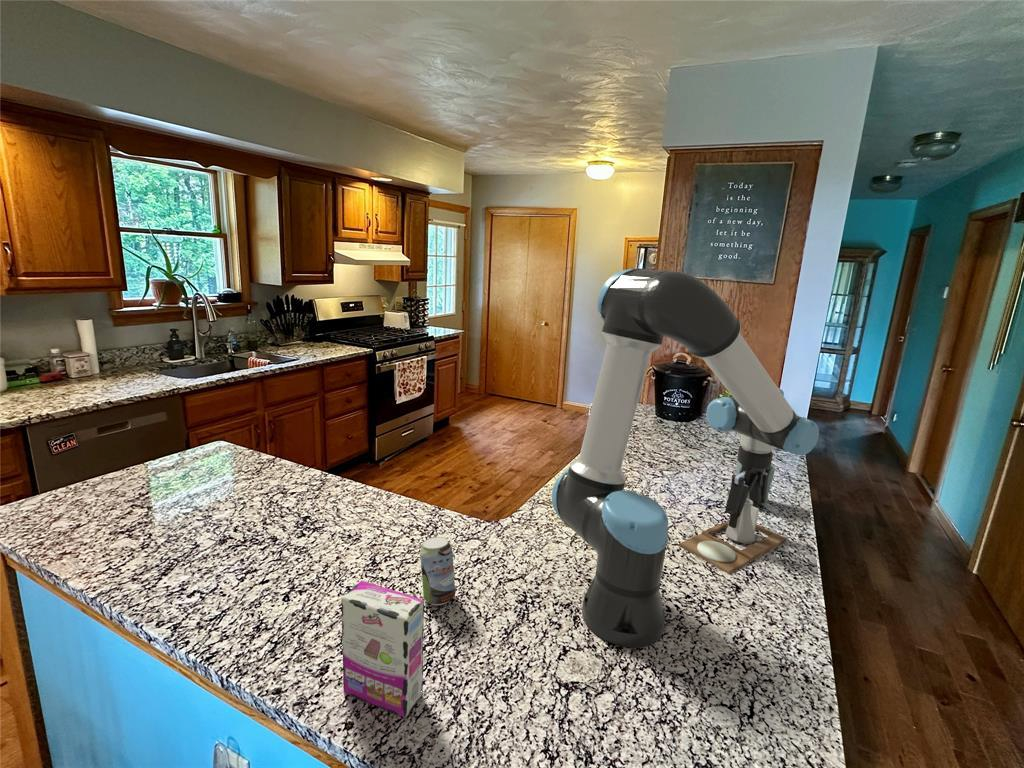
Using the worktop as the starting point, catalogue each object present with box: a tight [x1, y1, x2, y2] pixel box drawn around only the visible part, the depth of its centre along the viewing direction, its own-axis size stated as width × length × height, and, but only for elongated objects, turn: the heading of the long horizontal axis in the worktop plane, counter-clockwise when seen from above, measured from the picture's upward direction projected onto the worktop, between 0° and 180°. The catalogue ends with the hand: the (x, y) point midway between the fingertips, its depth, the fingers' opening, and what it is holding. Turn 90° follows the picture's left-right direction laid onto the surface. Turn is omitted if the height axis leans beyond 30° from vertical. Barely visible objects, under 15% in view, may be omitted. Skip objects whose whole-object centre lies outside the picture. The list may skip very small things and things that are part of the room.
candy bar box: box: [340, 580, 425, 719], centre depth 73 cm, size 11×5×16 cm, turn 69°
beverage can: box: [419, 536, 456, 606], centre depth 95 cm, size 6×7×12 cm
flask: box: [724, 499, 756, 545], centre depth 125 cm, size 7×7×10 cm
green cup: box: [735, 460, 776, 510], centre depth 145 cm, size 10×10×12 cm
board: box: [678, 519, 788, 574], centre depth 123 cm, size 26×13×1 cm, turn 126°
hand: (740, 533), depth 126 cm, fingers closed on flask, 7 cm apart
